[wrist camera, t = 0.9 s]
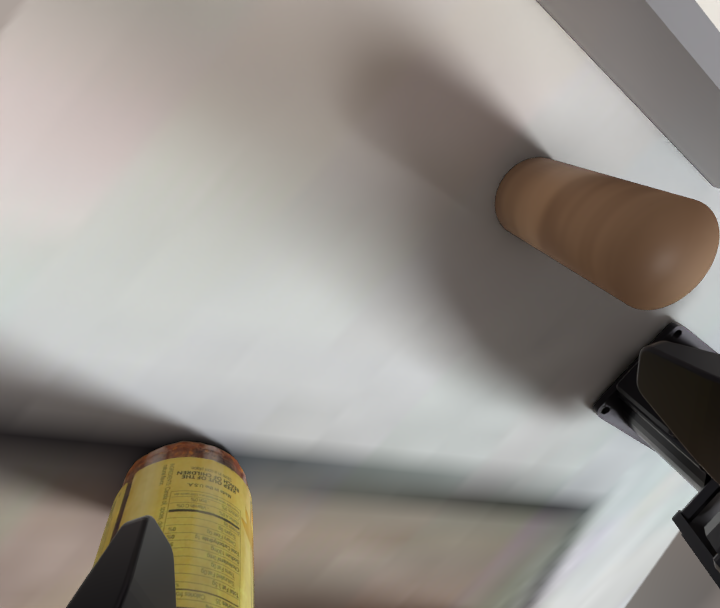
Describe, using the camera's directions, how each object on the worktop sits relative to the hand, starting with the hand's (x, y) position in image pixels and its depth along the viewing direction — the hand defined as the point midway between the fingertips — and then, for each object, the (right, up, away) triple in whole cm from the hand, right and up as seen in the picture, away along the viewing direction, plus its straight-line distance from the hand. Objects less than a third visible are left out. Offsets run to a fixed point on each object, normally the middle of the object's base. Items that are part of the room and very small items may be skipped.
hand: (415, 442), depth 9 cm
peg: (+7, +7, +13) cm, 16 cm away
